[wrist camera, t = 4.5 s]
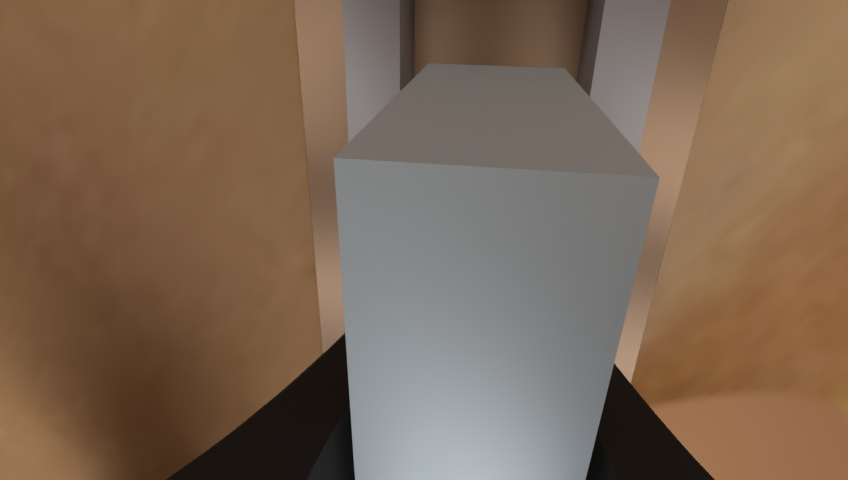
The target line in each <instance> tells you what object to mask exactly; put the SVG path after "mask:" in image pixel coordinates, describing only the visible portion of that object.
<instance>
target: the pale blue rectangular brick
mask: <svg viewBox="0 0 848 480" xmlns="http://www.w3.org/2000/svg"><path fill="white" fill-rule="evenodd" d="M334 173H335V188H336V203H337V218H338V233H339V248H340V263H341V278H342V293H343V308H344V323H345V338H346V353H347V368H348V383H349V398H350V413H351V428H352V443H353V458H354V473H355V480H586V476H587V472H588V468H589V464H590V460H591V456H592V451H593V447H594V443H595V439H596V435H597V431H598V427H599V423H600V419H601V415H602V411H603V407H604V403H605V399H606V394H607V390H608V386H609V382H610V378H611V374H612V370H613V366H614V362H615V358H616V354H617V350H618V346H619V341H620V337H621V333H622V329H623V325H624V321H625V317H626V313H627V309H628V305H629V301H630V297H631V293H632V288H633V284H634V280H635V276H636V272H637V268H638V264H639V260H640V256H641V252H642V248H643V244H644V240H645V236H646V231H647V227H648V223H649V219H650V215H651V211H652V207H653V203H654V199H655V195H656V191H657V187H658V183H659V178H660V177H659V176H658V175H657V174H656V173H655V172H654V170H653V169H652V168H651V167H650V166H649V165H648V163H647V162H646V161H645V160H644V159H643V158H642V157H641V155H640V154H639V153H638V152H637V151H636V150H635V148H634V147H633V146H632V145H631V144H630V143H629V142H628V140H627V139H626V138H625V137H624V136H623V135H622V134H621V132H620V131H619V130H618V129H617V128H616V127H615V125H614V124H613V123H612V122H611V121H610V120H609V119H608V117H607V116H606V115H605V114H604V113H603V112H602V110H601V109H600V108H599V107H598V106H597V105H596V104H595V102H594V101H593V100H592V99H591V98H590V97H589V95H588V94H587V93H586V92H585V91H584V90H583V89H582V87H581V86H580V85H579V84H578V83H577V82H576V81H575V79H574V78H573V77H572V76H571V75H570V74H569V72H568V71H567V70H566V69H565V68H544V67H517V66H490V65H462V64H435V63H428V64H427V65H426V66H425V67H424V68H423V69H422V70H421V71H420V72H419V73H418V74H417V75H416V76H415V77H414V78H413V79H412V80H411V81H410V82H409V83H408V84H407V85H406V86H405V87H404V88H403V89H402V90H401V91H400V92H399V93H398V94H397V95H396V96H395V97H394V98H393V99H392V100H391V101H390V102H389V103H388V104H387V105H386V106H385V107H384V108H383V109H382V110H381V111H380V112H379V113H378V114H377V115H376V116H375V117H374V118H373V119H372V120H371V121H370V122H369V123H368V124H367V125H366V126H365V127H364V128H363V129H362V130H361V131H360V132H359V133H358V134H357V135H356V136H355V137H354V138H353V139H352V140H351V141H350V142H349V143H348V144H347V145H346V146H345V147H344V148H343V149H342V150H341V151H340V152H339V153H338V154H337V155H336V156H335V157H334Z"/></svg>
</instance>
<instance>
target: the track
mask: <svg viewBox="0 0 848 480" xmlns="http://www.w3.org/2000/svg"><path fill="white" fill-rule="evenodd" d="M727 4H728V0H294V7H295V19H296V31H297V43H298V56H299V68H300V80H301V92H302V105H303V117H304V129H305V142H306V154H307V166H308V178H309V191H310V203H311V215H312V228H313V240H314V252H315V264H316V277H317V289H318V301H319V314H320V326H321V338H322V350H323V353H324V352H325V351H327V350H328V349H329V348H330V347H331V346H332V345H333V344H334V343H335V342H336V341H337V340H338V339H339V338H340V337H341V336H342V335H343V334H344V333H345V323H344V308H343V293H342V278H341V263H340V248H339V233H338V218H337V203H336V188H335V173H334V157H335V156H336V155H337V154H338V153H339V152H340V151H341V150H342V149H343V148H344V147H345V146H346V145H347V144H348V143H349V142H350V141H351V140H352V139H353V138H354V137H355V136H356V135H357V134H358V133H359V132H360V131H361V130H362V129H363V128H364V127H365V126H366V125H367V124H368V123H369V122H370V121H371V120H372V119H373V118H374V117H375V116H376V115H377V114H378V113H379V112H380V111H381V110H382V109H383V108H384V107H385V106H386V105H387V104H388V103H389V102H390V101H391V100H392V99H393V98H394V97H395V96H396V95H397V94H398V93H399V92H400V91H401V90H402V89H403V88H404V87H405V86H406V85H407V84H408V83H409V82H410V81H411V80H412V79H413V78H414V77H415V76H416V75H417V74H418V73H419V72H420V71H421V70H422V69H423V68H424V67H425V66H426V65H427V64H428V63H435V64H462V65H490V66H517V67H544V68H565V69H566V70H567V71H568V72H569V74H570V75H571V76H572V77H573V78H574V79H575V81H576V82H577V83H578V84H579V85H580V86H581V87H582V89H583V90H584V91H585V92H586V93H587V94H588V95H589V97H590V98H591V99H592V100H593V101H594V102H595V104H596V105H597V106H598V107H599V108H600V109H601V110H602V112H603V113H604V114H605V115H606V116H607V117H608V119H609V120H610V121H611V122H612V123H613V124H614V125H615V127H616V128H617V129H618V130H619V131H620V132H621V134H622V135H623V136H624V137H625V138H626V139H627V140H628V142H629V143H630V144H631V145H632V146H633V147H634V148H635V150H636V151H637V152H638V153H639V154H640V155H641V157H642V158H643V159H644V160H645V161H646V162H647V163H648V165H649V166H650V167H651V168H652V169H653V170H654V172H655V173H656V174H657V175H658V176H659V177H660V178H659V183H658V187H657V191H656V195H655V199H654V203H653V207H652V211H651V215H650V219H649V223H648V227H647V231H646V236H645V240H644V244H643V248H642V252H641V256H640V260H639V264H638V268H637V272H636V276H635V280H634V284H633V288H632V293H631V297H630V301H629V305H628V309H627V313H626V317H625V321H624V325H623V329H622V333H621V337H620V341H619V346H618V350H617V354H616V358H615V362H614V363H615V364H616V366H617V367H618V368H619V370H620V371H621V372H622V373H623V375H624V376H625V377H626V378H627V380H628V381H629V382H630V383H631V380H632V376H633V372H634V368H635V364H636V360H637V356H638V352H639V349H640V345H641V341H642V337H643V333H644V329H645V325H646V321H647V317H648V313H649V309H650V305H651V302H652V298H653V294H654V290H655V286H656V282H657V278H658V274H659V270H660V266H661V262H662V258H663V255H664V251H665V247H666V243H667V239H668V235H669V231H670V227H671V223H672V219H673V215H674V211H675V208H676V204H677V200H678V196H679V192H680V188H681V184H682V180H683V176H684V172H685V168H686V164H687V161H688V157H689V153H690V149H691V145H692V141H693V137H694V133H695V129H696V125H697V121H698V117H699V114H700V110H701V106H702V102H703V98H704V94H705V90H706V86H707V82H708V78H709V74H710V70H711V67H712V63H713V59H714V55H715V51H716V47H717V43H718V39H719V35H720V31H721V27H722V23H723V20H724V16H725V12H726V8H727Z"/></svg>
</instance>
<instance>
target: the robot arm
mask: <svg viewBox="0 0 848 480" xmlns="http://www.w3.org/2000/svg"><path fill="white" fill-rule="evenodd" d="M166 480H355V473H354V458H353V443H352V428H351V413H350V398H349V383H348V368H347V353H346V338H345V333H344V334H343V335H342V336H341V337H340V338H339V339H338V340H337V341H336V342H335V343H334V344H333V345H332V346H331V347H330V348H329V349H328V350H327V351H325V352H324V353H323V354H322V355H321V356H320V357H319V358H318V359H317V360H316V361H315V362H314V363H313V364H311V365H310V366H309V367H308V368H307V369H306V370H305V371H304V372H303V373H301V374H300V375H299V376H298V377H297V378H296V379H295V380H294V381H293V382H291V383H290V384H289V385H288V386H287V387H286V388H285V389H284V390H282V391H281V392H280V393H279V394H278V395H277V396H275V397H274V398H273V399H272V400H271V401H269V402H268V403H267V404H266V405H264V406H263V407H262V408H261V409H260V410H258V411H257V412H256V413H255V414H253V415H252V416H251V417H250V418H248V419H247V420H246V421H245V422H244V423H242V424H241V425H240V426H239V427H237V428H236V429H235V430H234V431H232V432H231V433H230V434H229V435H227V436H226V437H225V438H223V439H222V440H221V441H219V442H218V443H217V444H215V445H214V446H213V447H211V448H210V449H209V450H207V451H206V452H204V453H203V454H202V455H200V456H199V457H198V458H196V459H195V460H193V461H192V462H191V463H189V464H188V465H186V466H185V467H183V468H182V469H181V470H179V471H178V472H176V473H175V474H173V475H172V476H170V477H169V478H168V479H166ZM586 480H714V479H713V478H712V476H711V475H709V473H708V472H707V471H706V470H705V469H704V468H703V467H702V466H701V465H700V464H699V463H698V462H697V461H696V460H695V458H693V456H692V455H691V454H690V453H689V452H688V451H687V450H686V448H684V446H683V445H682V444H681V443H680V442H679V441H678V440H677V438H676V437H675V436H674V435H673V434H672V432H671V431H670V430H669V429H668V428H667V427H666V425H665V424H664V423H663V422H662V421H661V420H660V418H659V417H658V416H657V415H656V414H655V413H654V411H653V410H652V409H651V408H650V407H649V405H648V404H647V403H646V402H645V401H644V399H643V398H642V397H641V396H640V395H639V393H638V392H637V391H636V390H635V388H634V387H633V386H632V385H631V383H630V382H629V381H628V380H627V378H626V377H625V376H624V375H623V373H622V372H621V371H620V370H619V368H618V367H617V366H616V364H615V363H614V366H613V370H612V374H611V378H610V382H609V386H608V390H607V394H606V399H605V403H604V407H603V411H602V415H601V419H600V423H599V427H598V431H597V435H596V439H595V443H594V447H593V451H592V456H591V460H590V464H589V468H588V472H587V476H586Z"/></svg>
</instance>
